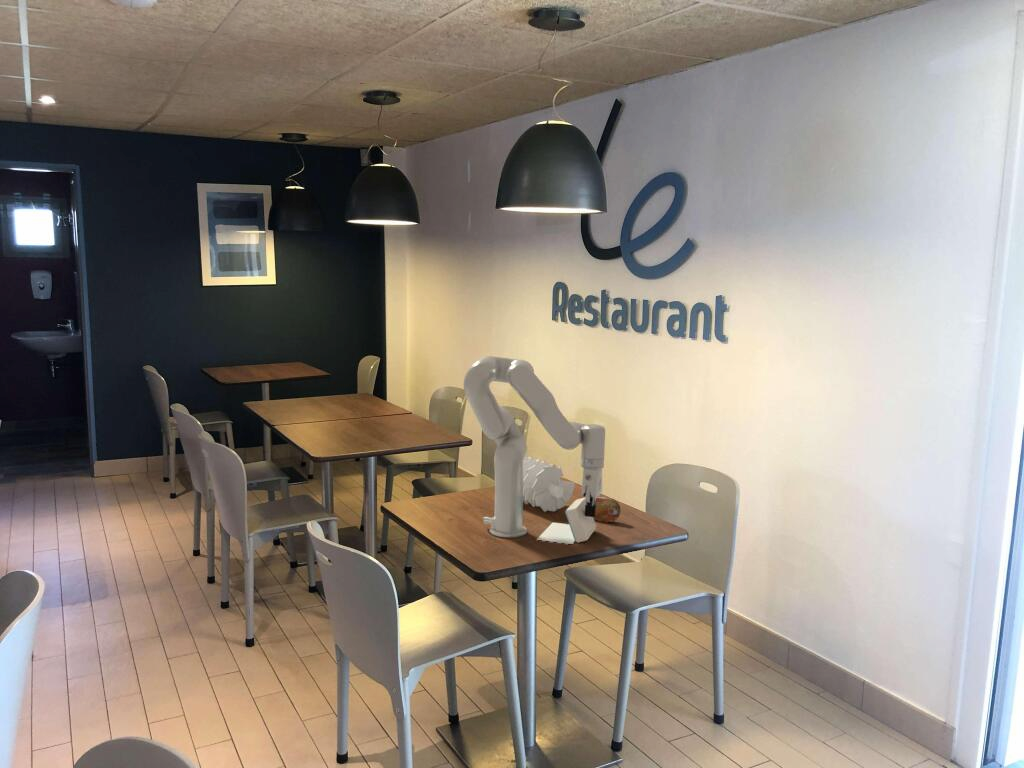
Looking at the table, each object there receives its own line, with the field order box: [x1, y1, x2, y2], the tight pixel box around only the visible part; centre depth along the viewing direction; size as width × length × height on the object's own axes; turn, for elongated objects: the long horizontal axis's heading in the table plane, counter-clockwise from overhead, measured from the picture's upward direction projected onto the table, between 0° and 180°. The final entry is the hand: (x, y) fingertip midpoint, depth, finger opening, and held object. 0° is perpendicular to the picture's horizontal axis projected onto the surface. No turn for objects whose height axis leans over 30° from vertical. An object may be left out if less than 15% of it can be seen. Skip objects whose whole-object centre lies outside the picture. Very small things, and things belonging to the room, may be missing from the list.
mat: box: [536, 522, 575, 545], centre depth 273 cm, size 12×19×1 cm, turn 161°
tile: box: [564, 497, 597, 544], centre depth 270 cm, size 4×14×11 cm, turn 161°
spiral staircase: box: [523, 455, 576, 513], centre depth 303 cm, size 18×18×25 cm
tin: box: [593, 496, 621, 523], centre depth 288 cm, size 15×3×8 cm, turn 62°
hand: (590, 515), depth 268 cm, fingers closed
